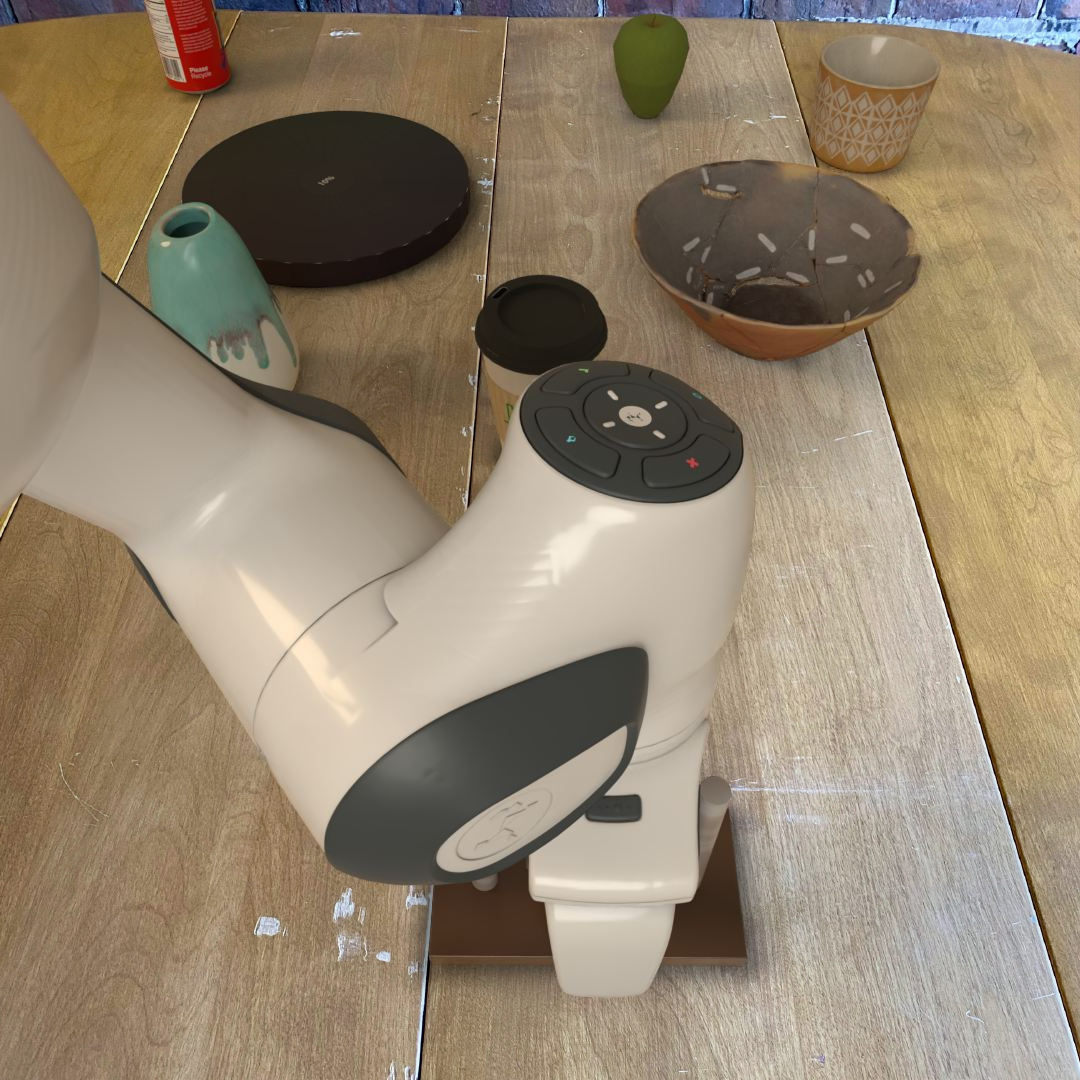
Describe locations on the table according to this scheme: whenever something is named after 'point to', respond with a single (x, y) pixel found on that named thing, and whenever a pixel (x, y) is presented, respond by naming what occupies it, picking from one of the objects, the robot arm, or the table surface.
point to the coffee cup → (534, 335)
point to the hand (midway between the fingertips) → (591, 824)
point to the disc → (335, 194)
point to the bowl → (775, 254)
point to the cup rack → (520, 922)
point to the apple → (650, 61)
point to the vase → (219, 296)
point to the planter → (870, 100)
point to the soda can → (189, 44)
